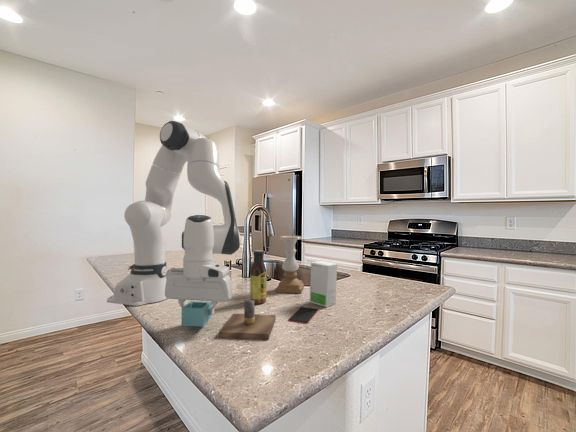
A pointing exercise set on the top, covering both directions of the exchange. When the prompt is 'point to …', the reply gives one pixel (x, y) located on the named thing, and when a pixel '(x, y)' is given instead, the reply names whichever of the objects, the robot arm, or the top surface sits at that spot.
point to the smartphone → (303, 315)
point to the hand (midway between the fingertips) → (198, 314)
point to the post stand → (248, 324)
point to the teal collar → (196, 313)
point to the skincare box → (323, 283)
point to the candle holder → (290, 268)
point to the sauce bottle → (258, 278)
